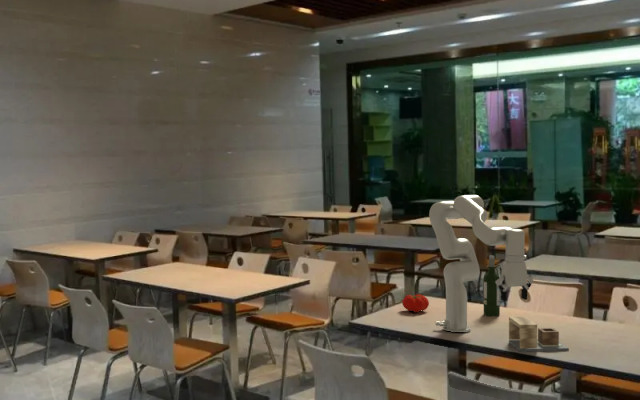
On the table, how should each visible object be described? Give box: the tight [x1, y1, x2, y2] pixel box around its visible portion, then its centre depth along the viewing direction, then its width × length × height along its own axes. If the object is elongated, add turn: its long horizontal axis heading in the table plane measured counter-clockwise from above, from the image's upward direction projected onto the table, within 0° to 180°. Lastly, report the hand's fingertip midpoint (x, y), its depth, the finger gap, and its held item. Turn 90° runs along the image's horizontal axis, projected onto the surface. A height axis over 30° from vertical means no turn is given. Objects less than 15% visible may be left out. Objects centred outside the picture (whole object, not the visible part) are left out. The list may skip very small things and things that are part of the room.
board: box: [508, 338, 570, 353], centre depth 279 cm, size 20×14×4 cm
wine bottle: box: [483, 255, 501, 317], centre depth 337 cm, size 8×8×30 cm
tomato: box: [401, 293, 430, 313], centre depth 346 cm, size 14×13×9 cm
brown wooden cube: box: [537, 327, 560, 345], centre depth 279 cm, size 6×6×6 cm
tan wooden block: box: [508, 316, 538, 349], centre depth 278 cm, size 7×14×10 cm, turn 2°
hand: (514, 299), depth 278 cm, fingers open, 9 cm apart
